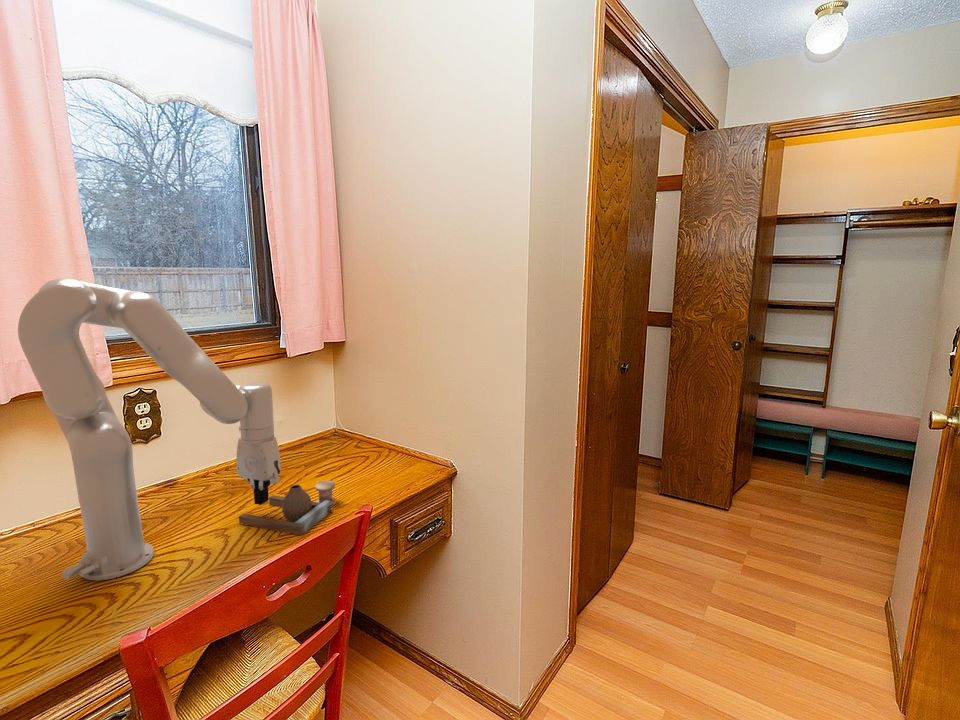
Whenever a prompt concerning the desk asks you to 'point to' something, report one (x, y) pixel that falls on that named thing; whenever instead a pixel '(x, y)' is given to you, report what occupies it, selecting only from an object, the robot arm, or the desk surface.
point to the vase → (296, 504)
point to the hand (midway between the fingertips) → (261, 502)
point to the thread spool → (325, 491)
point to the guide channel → (284, 526)
